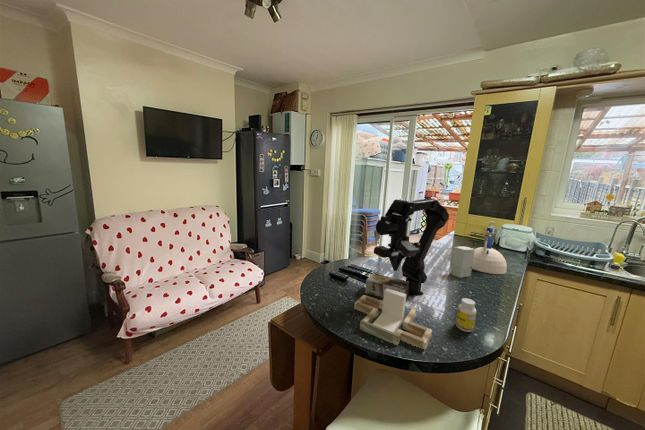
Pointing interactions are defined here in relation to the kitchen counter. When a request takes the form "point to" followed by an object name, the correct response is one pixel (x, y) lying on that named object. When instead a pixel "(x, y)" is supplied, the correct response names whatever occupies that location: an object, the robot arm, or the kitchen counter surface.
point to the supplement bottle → (466, 315)
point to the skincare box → (462, 261)
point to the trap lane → (413, 336)
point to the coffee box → (385, 285)
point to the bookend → (392, 310)
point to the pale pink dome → (488, 259)
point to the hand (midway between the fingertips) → (395, 270)
